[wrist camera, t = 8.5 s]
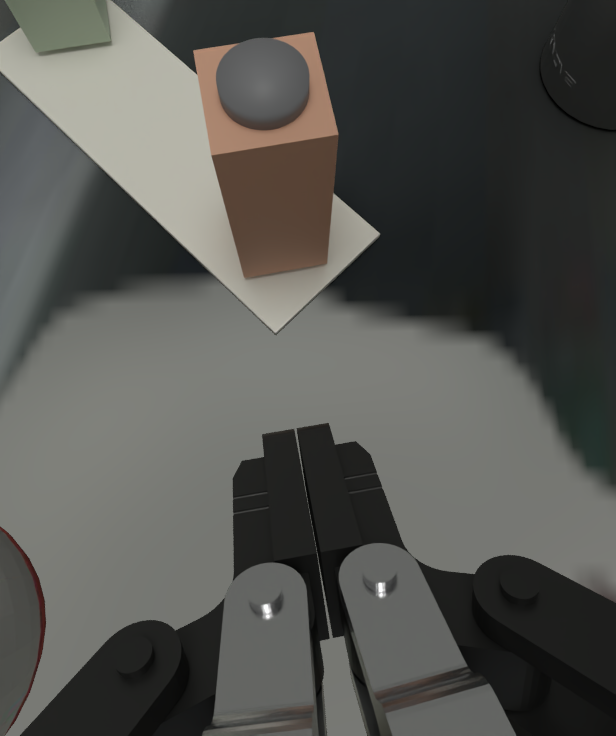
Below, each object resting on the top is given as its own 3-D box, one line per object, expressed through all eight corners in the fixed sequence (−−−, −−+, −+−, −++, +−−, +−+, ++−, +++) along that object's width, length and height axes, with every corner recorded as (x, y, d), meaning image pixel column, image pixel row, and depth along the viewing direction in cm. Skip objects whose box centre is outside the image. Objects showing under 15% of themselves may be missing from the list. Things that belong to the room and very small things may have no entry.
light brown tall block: (311, 190, 33) (314, 14, 22) (326, 263, 32) (339, 120, 20) (231, 203, 33) (189, 33, 21) (244, 278, 32) (207, 141, 20)
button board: (379, 236, 34) (380, 233, 33) (275, 335, 32) (275, 333, 32) (89, -16, 38) (86, -21, 38) (-14, 59, 37) (-17, 54, 36)
